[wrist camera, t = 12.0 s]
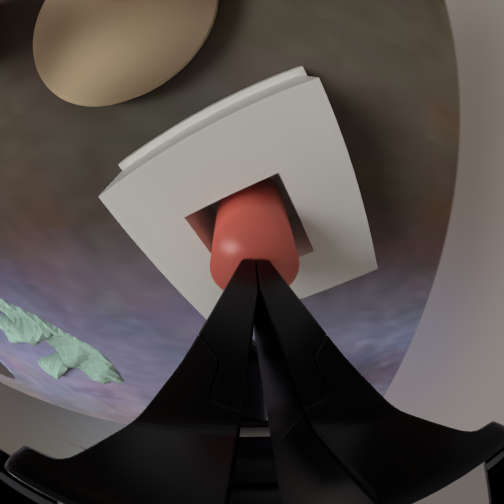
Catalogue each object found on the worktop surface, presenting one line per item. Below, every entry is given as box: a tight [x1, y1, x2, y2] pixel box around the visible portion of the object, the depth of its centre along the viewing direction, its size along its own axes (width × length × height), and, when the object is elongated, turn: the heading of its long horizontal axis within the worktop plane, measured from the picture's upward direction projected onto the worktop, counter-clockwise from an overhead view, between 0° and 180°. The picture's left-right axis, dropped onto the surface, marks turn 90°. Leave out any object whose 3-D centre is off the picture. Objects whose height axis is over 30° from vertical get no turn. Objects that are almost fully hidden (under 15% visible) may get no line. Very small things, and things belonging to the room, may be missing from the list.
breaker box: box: [99, 66, 378, 320], centre depth 12 cm, size 9×9×4 cm
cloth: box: [0, 299, 124, 384], centre depth 23 cm, size 20×22×2 cm
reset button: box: [210, 177, 299, 290], centre depth 10 cm, size 3×3×4 cm
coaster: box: [33, 0, 219, 107], centre depth 7 cm, size 9×9×1 cm
